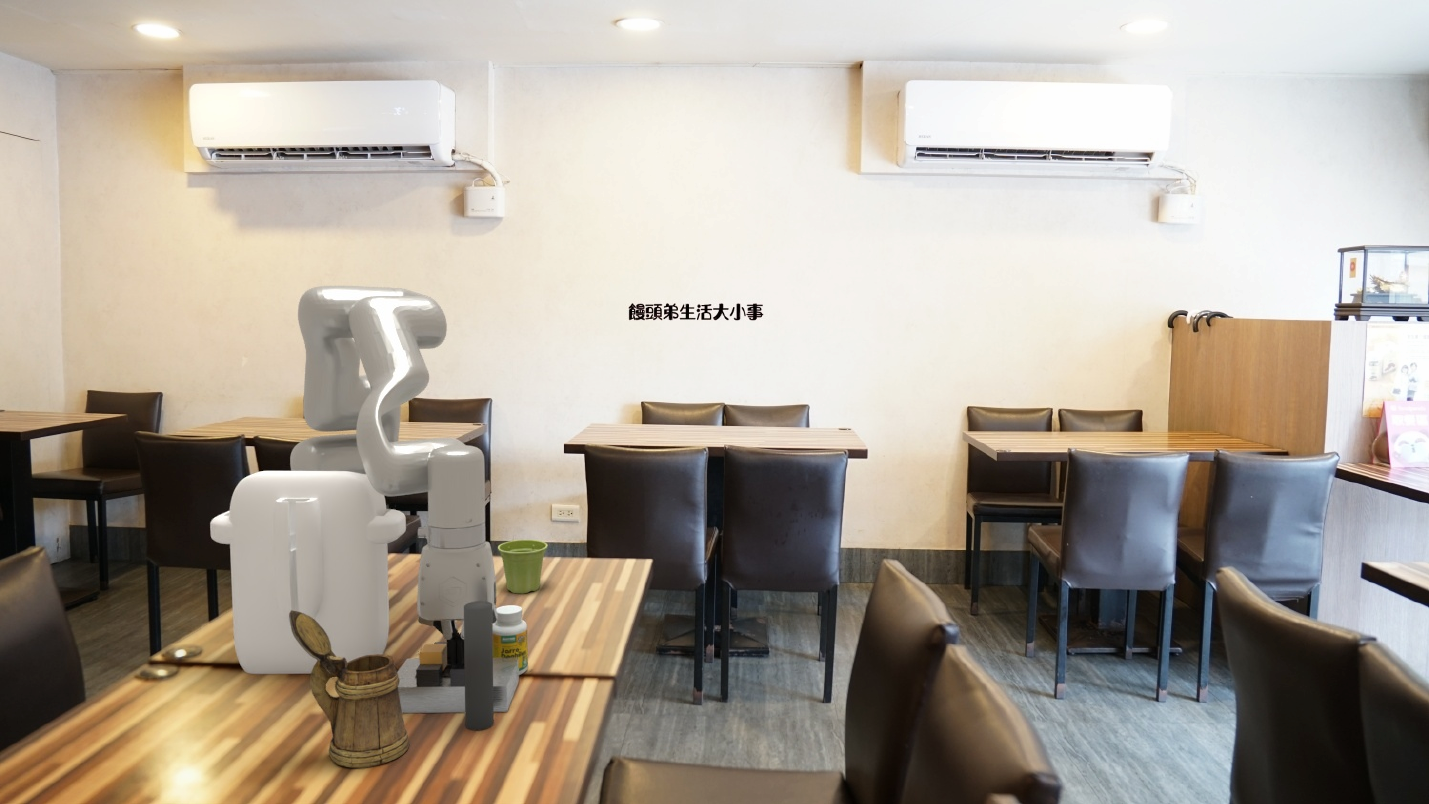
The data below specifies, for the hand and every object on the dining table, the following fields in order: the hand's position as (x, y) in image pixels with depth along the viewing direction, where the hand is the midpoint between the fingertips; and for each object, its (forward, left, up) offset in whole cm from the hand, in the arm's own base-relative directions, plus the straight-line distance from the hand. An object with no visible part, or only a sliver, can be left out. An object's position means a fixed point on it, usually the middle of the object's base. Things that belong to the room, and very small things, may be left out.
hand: (459, 663), depth 125 cm
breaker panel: (-1, 0, -5) cm, 5 cm away
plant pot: (+1, +49, -5) cm, 49 cm away
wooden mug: (-10, -15, -5) cm, 19 cm away
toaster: (-25, +11, -5) cm, 27 cm away
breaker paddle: (-3, 0, -1) cm, 4 cm away
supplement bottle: (+5, +9, -5) cm, 12 cm away
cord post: (+4, -8, -5) cm, 11 cm away
